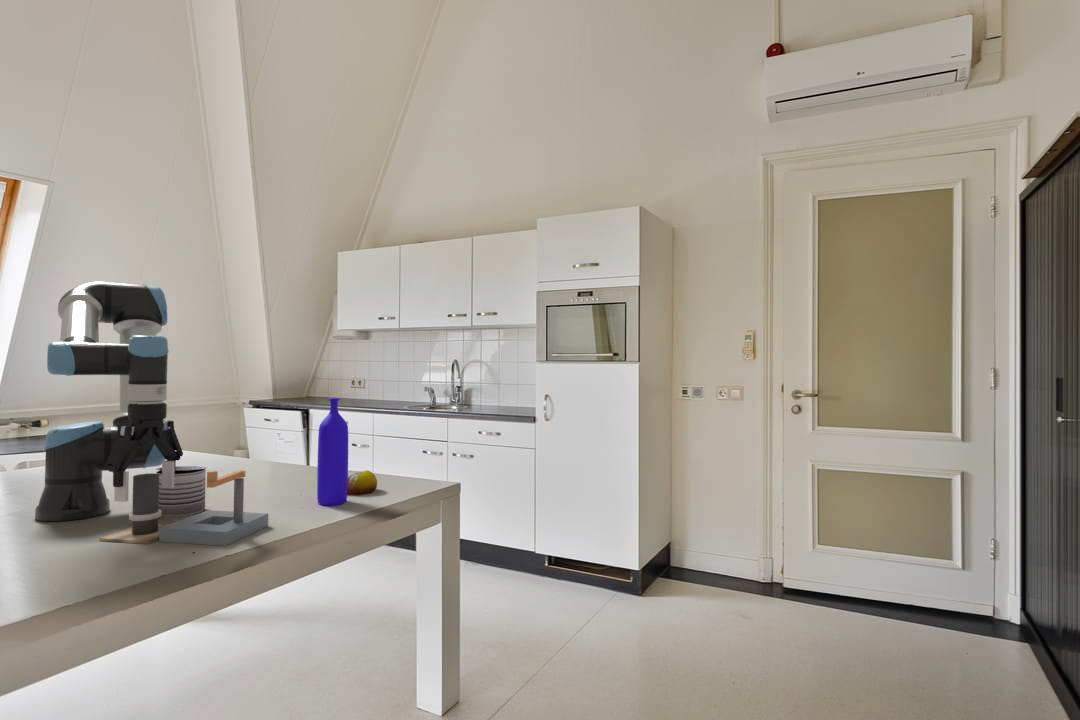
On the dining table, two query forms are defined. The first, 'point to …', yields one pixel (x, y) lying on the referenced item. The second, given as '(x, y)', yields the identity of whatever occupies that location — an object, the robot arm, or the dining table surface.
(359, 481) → the fruit
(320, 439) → the bottle
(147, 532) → the plug
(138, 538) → the coaster
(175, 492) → the can
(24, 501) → the dining table surface
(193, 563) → the dining table surface
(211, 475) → the ball-ended peach stick
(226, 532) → the socket
